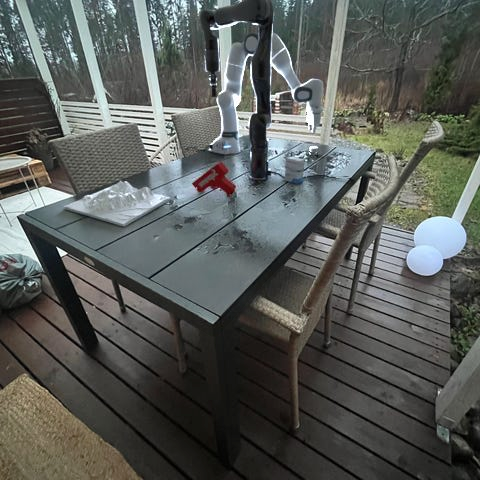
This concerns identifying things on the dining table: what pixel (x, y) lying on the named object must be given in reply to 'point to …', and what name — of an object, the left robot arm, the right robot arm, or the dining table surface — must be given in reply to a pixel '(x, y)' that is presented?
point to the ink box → (294, 170)
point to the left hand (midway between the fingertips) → (311, 131)
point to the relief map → (118, 203)
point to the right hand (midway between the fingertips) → (214, 96)
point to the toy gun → (215, 180)
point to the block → (313, 150)
